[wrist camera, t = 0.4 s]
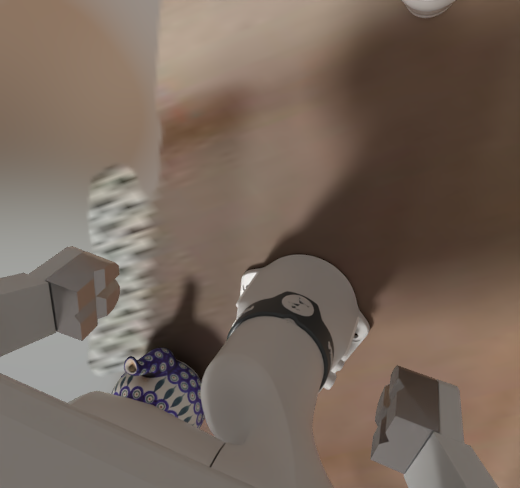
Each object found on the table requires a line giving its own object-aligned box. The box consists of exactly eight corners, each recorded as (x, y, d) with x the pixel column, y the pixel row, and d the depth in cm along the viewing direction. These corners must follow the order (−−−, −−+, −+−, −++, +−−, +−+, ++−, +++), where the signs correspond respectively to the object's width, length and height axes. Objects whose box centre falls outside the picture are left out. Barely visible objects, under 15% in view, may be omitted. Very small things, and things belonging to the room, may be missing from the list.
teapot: (217, 448, 75) (175, 526, 62) (144, 425, 79) (91, 493, 66) (216, 328, 66) (166, 390, 53) (134, 310, 70) (69, 362, 57)
